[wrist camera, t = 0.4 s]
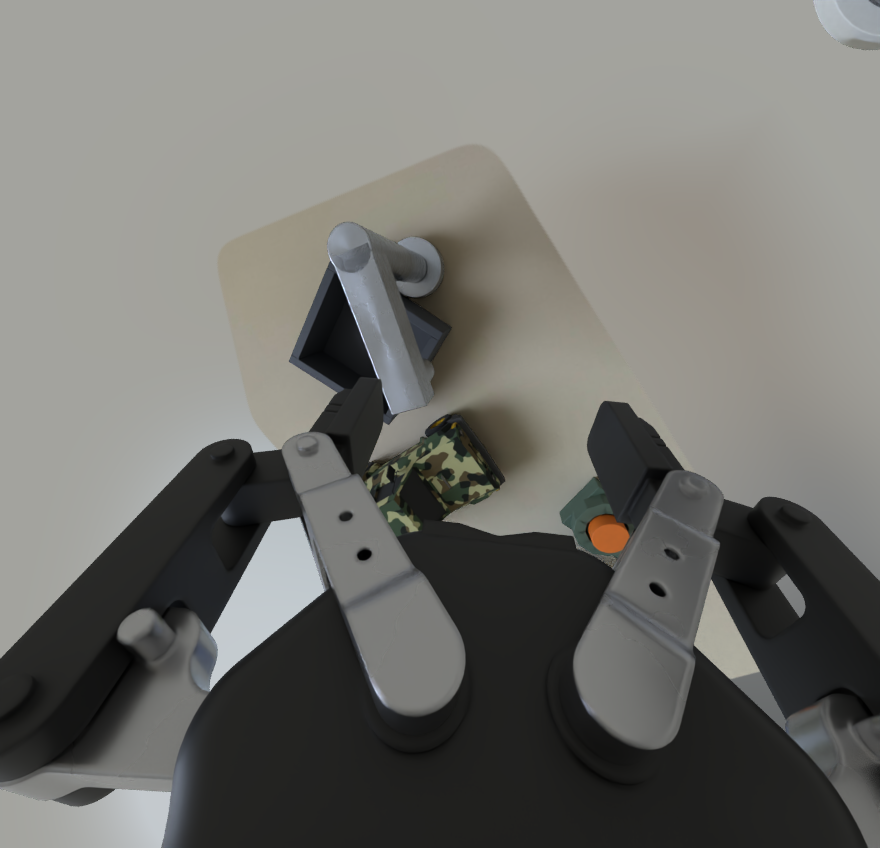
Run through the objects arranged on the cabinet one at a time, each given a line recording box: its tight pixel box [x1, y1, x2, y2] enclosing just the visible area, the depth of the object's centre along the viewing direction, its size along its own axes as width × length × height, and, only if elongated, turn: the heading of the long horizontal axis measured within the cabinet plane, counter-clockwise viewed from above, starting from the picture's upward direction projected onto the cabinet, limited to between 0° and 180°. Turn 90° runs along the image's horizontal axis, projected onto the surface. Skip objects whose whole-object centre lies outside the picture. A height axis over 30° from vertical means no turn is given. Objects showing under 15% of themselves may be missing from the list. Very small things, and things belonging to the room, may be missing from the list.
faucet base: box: [396, 237, 444, 298], centre depth 33 cm, size 5×5×2 cm
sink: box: [289, 260, 452, 425], centre depth 34 cm, size 11×12×6 cm
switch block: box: [560, 477, 634, 559], centre depth 38 cm, size 10×6×4 cm, turn 58°
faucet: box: [327, 222, 434, 415], centre depth 26 cm, size 11×3×14 cm, turn 19°
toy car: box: [362, 414, 505, 537], centre depth 37 cm, size 9×19×10 cm, turn 126°
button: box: [588, 514, 630, 553], centre depth 35 cm, size 4×4×2 cm
